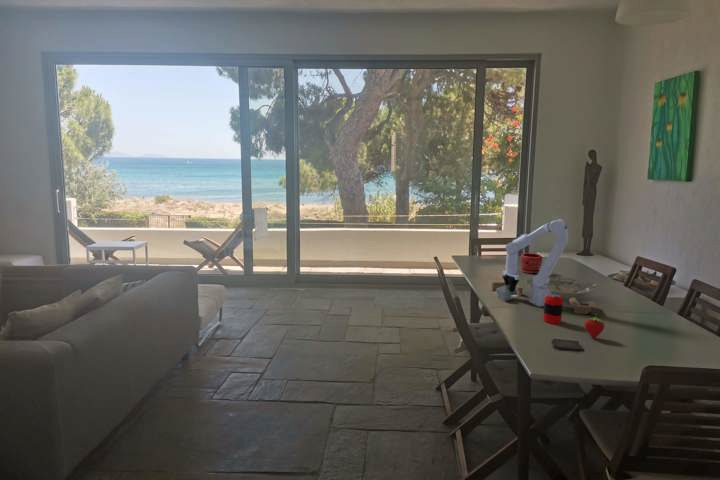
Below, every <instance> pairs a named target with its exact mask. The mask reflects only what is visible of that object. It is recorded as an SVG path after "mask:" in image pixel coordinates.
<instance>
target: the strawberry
mask: <svg viewBox="0 0 720 480" xmlns="http://www.w3.org/2000/svg"><path fill="white" fill-rule="evenodd" d="M597 316H598V315H595V317H592V318H591V317H588V320H586V321H585V322H584V329H585V330H586V331H587V334H588V335H589V336H590V337H591V338H592V339H595V338H597V337H598V336H599V335H601V334H602V332H603V331H604V330H605V323H604V322H603V321H602V320H601V319H600V318H598V317H597Z"/></svg>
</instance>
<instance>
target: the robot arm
mask: <svg viewBox="0 0 720 480" xmlns="http://www.w3.org/2000/svg"><path fill="white" fill-rule="evenodd" d="M568 229H569V226H568V224H567V222H566V220H564V219H562V218H558V219H555V220H552V221H551V222H548V223H545V224H542V225H541V226H540V227H538V228H537V229H535V230H533V231H532V232H531V233H529V234H527V233H524V234H523V233H522V234H520V235H519V237H517V238H514V239H512V242H508V243H507V244H506V246H505V251H506V257H505V258H506V259H505V269H503V270H502V279H503V282H505V285H507V284H510V291H515V288H516V285H518V283H519V281H520V277H521V276H520V275H519V274H518V261H519V257H518V256H519V251H520V250H522V249H524V248H526V247H527V246H530V244H532V242H533V240H534V239H536V238H538V237H539V236H542V235H543V234H545V233H552V234H553V236H554V238H555V240H556V241H555V243H554V245H553V247H552V248H551V251H550V253H549V254H548V256H547V258H546V259H545V262H544V263H543V265H542V267H540V269H539V270H540V271H539V273H537V274H535V275H534V276H533V277H532V284H533V285H532V287H533V288H532V298H531V300H528V302H529V303H530V304H533V305H535V306H537V307H544V304H545V297H546V296H547V295H548V294H552V291H551V290H550V289H549V282H551V281H550V280H551V275H552V272H553V270H554V268H555V266H556V263H558V261H559V259H560V257H561V255H562V254H563V252H564V249H565V248H566V247H567V244H568V243H569V239H570V238H569V230H568Z"/></svg>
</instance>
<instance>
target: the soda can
mask: <svg viewBox="0 0 720 480" xmlns="http://www.w3.org/2000/svg"><path fill="white" fill-rule="evenodd" d="M563 304H564V299H563V296H561V295H560V294H554V293H551V294H548V295H547V296H546V297H545V304H544V306H543V307H544V308H543V318H542V320H543V322H545V323H547V324H551V325H558V324H561V323H562V318H563V317H562V316H563V306H564V305H563Z"/></svg>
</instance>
